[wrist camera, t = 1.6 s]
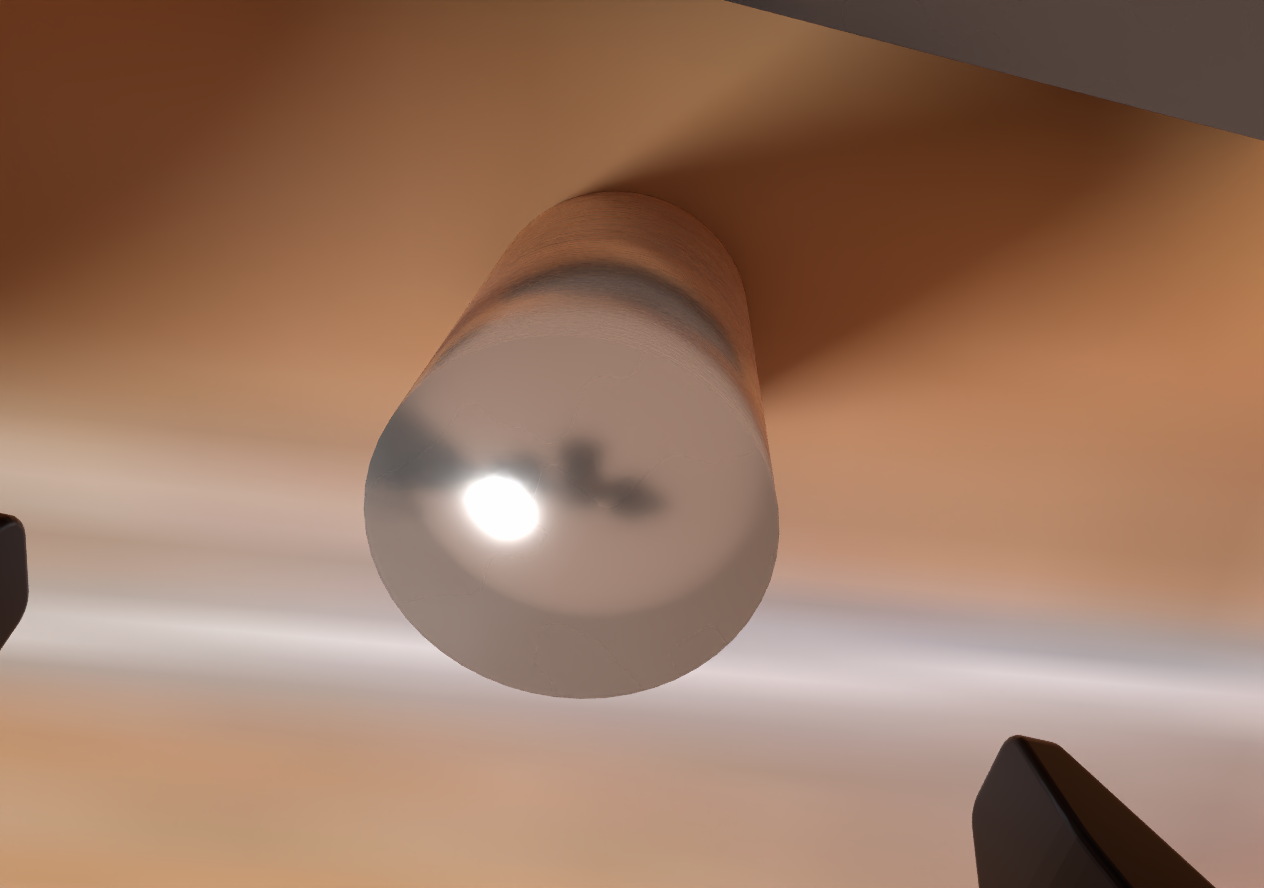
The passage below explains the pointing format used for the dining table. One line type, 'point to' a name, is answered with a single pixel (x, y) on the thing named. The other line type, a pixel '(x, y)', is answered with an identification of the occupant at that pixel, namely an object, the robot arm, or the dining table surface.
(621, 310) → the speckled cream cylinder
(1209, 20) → the duct plate
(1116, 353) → the dining table surface
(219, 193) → the dining table surface
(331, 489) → the dining table surface
